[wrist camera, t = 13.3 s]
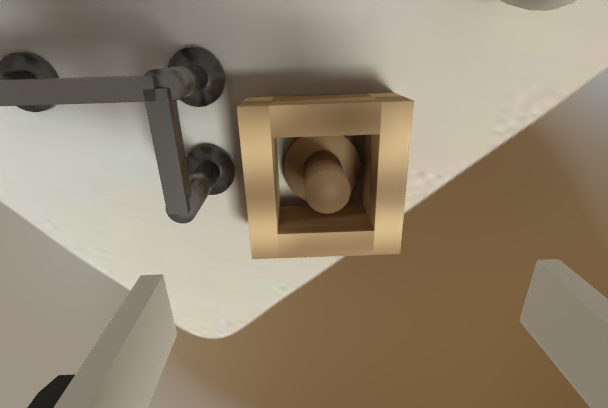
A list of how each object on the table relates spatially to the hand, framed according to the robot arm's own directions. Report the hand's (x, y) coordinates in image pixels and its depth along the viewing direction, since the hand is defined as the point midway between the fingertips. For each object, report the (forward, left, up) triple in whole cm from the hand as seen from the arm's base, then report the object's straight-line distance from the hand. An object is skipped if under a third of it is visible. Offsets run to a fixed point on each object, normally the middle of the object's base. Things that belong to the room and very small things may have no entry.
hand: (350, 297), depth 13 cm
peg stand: (0, 0, -17) cm, 17 cm away
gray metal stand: (-3, -15, -17) cm, 23 cm away
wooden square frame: (0, 0, -17) cm, 17 cm away
